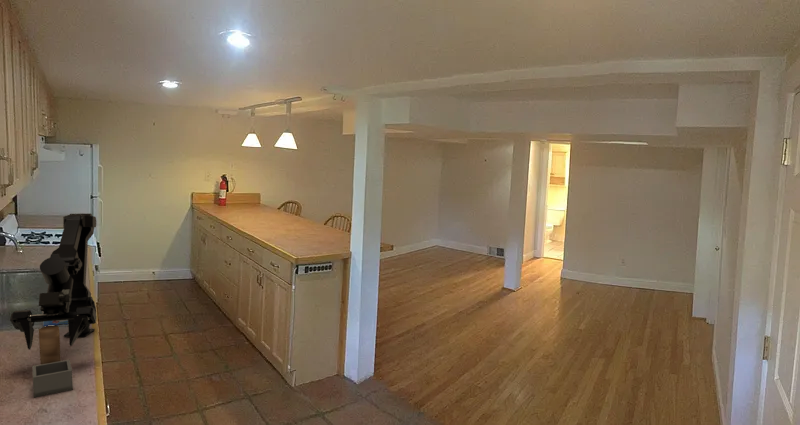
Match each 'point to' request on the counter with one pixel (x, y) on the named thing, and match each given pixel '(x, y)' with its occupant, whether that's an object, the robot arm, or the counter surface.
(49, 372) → the socket cup
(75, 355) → the counter surface
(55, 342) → the walnut peg
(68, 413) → the counter surface
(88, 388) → the counter surface
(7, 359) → the counter surface
